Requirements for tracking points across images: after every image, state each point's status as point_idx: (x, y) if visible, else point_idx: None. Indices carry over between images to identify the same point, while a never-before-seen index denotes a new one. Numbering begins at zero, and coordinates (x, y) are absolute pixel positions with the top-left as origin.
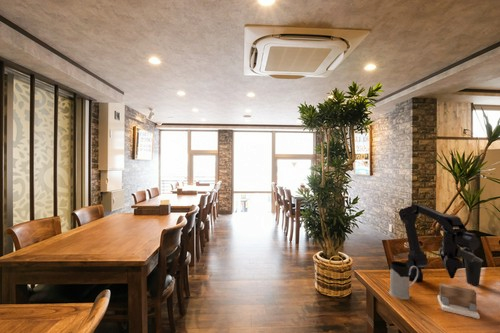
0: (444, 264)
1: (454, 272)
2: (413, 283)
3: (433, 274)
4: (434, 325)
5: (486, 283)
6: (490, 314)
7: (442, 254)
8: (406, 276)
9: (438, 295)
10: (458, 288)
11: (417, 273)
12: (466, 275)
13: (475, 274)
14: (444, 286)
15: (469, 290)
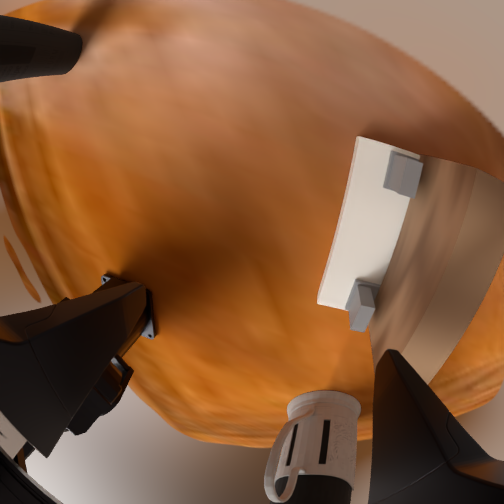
0: (107, 363)
1: (443, 423)
2: (300, 418)
3: (46, 197)
4: (499, 366)
5: (60, 15)
6: (426, 86)
7: (21, 445)
8: (349, 487)
9: (323, 302)
10: (464, 304)
11: (277, 453)
12: (37, 75)
13: (38, 38)
14: (429, 380)
15: (494, 227)
